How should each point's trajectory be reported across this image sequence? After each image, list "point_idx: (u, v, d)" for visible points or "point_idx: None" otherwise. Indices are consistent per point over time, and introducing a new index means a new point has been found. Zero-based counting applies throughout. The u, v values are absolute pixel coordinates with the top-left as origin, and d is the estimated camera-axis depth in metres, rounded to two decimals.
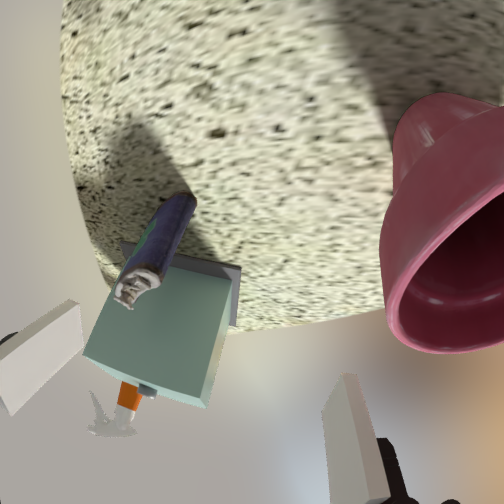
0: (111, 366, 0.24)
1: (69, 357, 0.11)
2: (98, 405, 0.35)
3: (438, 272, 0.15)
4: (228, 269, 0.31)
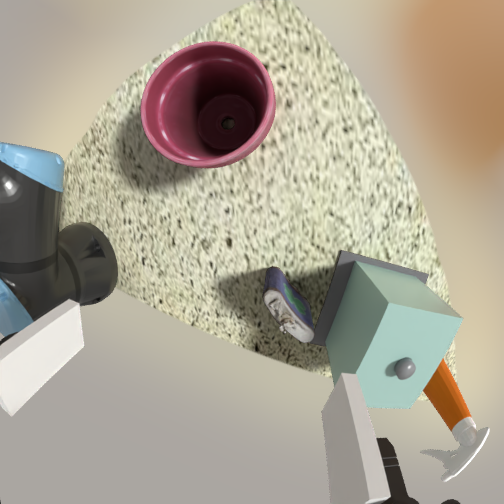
0: None
1: (69, 357, 0.11)
2: (436, 452, 0.22)
3: (261, 119, 0.28)
4: (340, 260, 0.38)
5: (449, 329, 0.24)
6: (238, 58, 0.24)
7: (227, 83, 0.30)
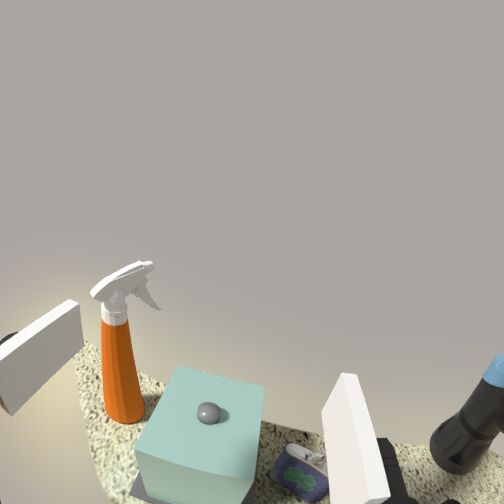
0: None
1: (70, 357, 0.11)
2: (147, 301, 0.35)
3: None
4: None
5: (154, 442, 0.20)
6: None
7: None
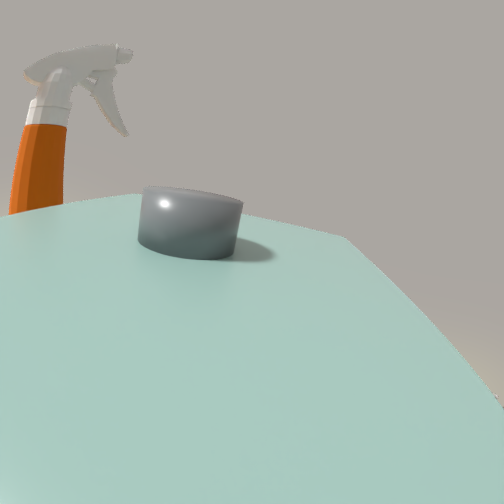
0: None
1: None
2: (109, 109, 0.17)
3: None
4: None
5: None
6: None
7: None
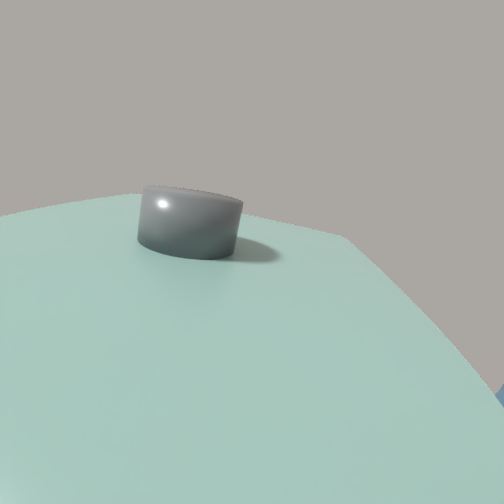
0: None
1: None
2: None
3: None
4: None
5: None
6: None
7: None
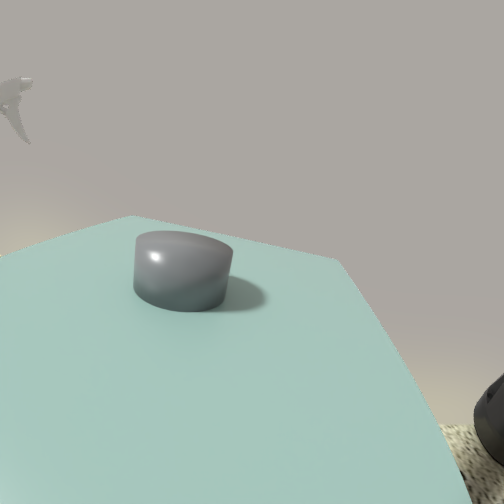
0: None
1: None
2: (16, 126, 0.17)
3: None
4: None
5: None
6: None
7: None
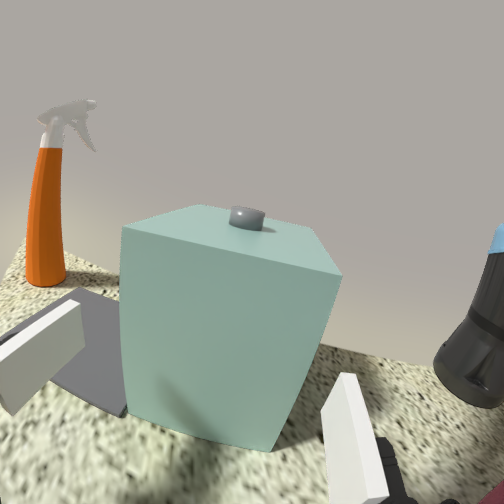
0: None
1: (70, 357, 0.11)
2: (84, 137, 0.30)
3: None
4: (123, 402, 0.17)
5: (160, 226, 0.14)
6: None
7: None
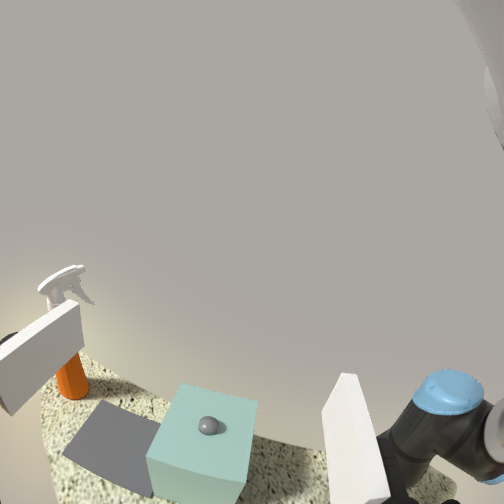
0: (254, 422, 0.31)
1: (69, 357, 0.11)
2: (82, 297, 0.39)
3: None
4: (151, 490, 0.26)
5: (162, 450, 0.23)
6: None
7: None
